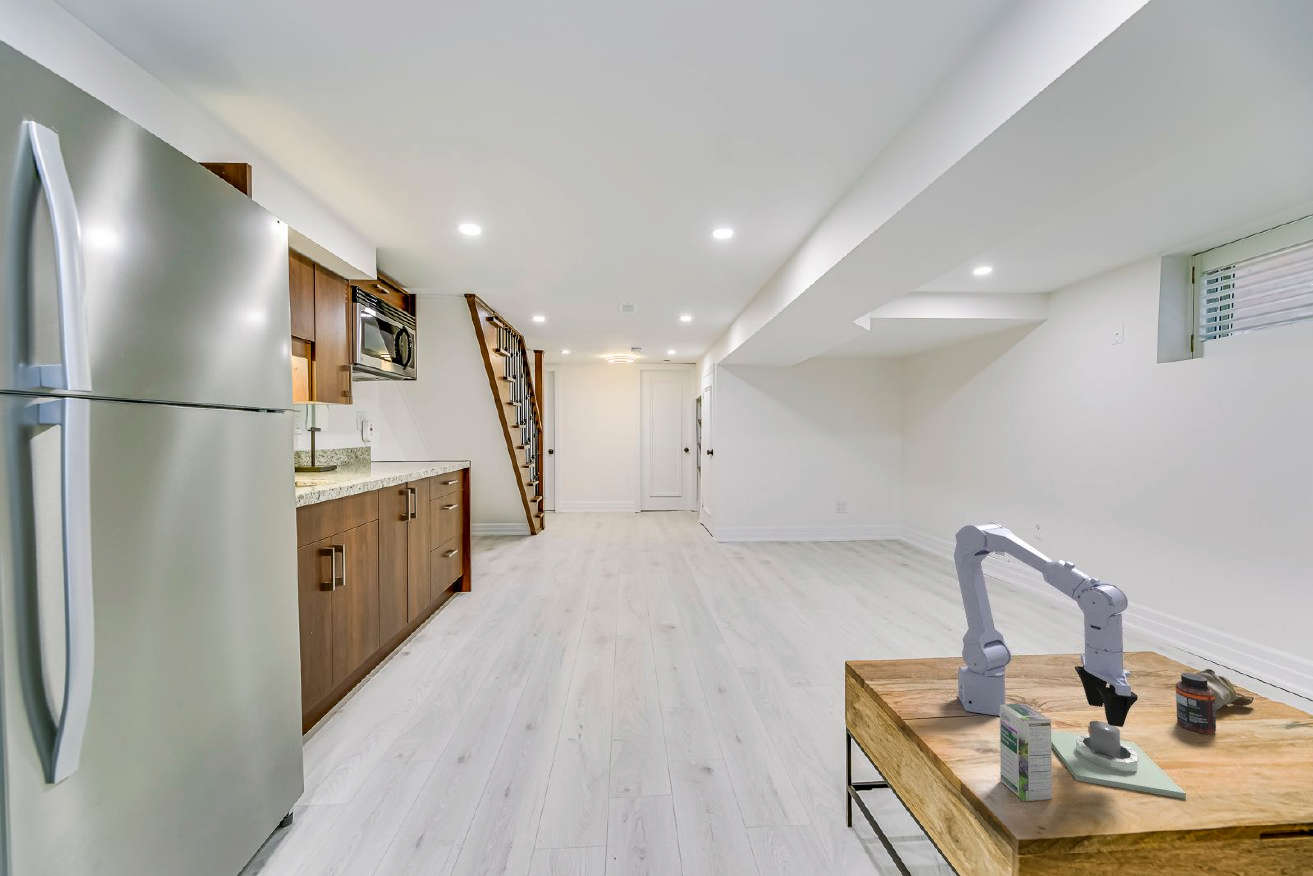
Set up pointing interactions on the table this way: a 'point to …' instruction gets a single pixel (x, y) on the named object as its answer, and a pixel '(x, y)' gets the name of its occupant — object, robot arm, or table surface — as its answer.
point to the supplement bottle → (1195, 704)
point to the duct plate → (1142, 780)
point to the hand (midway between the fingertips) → (1105, 715)
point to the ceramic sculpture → (1224, 690)
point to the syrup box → (1025, 752)
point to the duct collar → (1107, 762)
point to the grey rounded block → (1104, 739)
